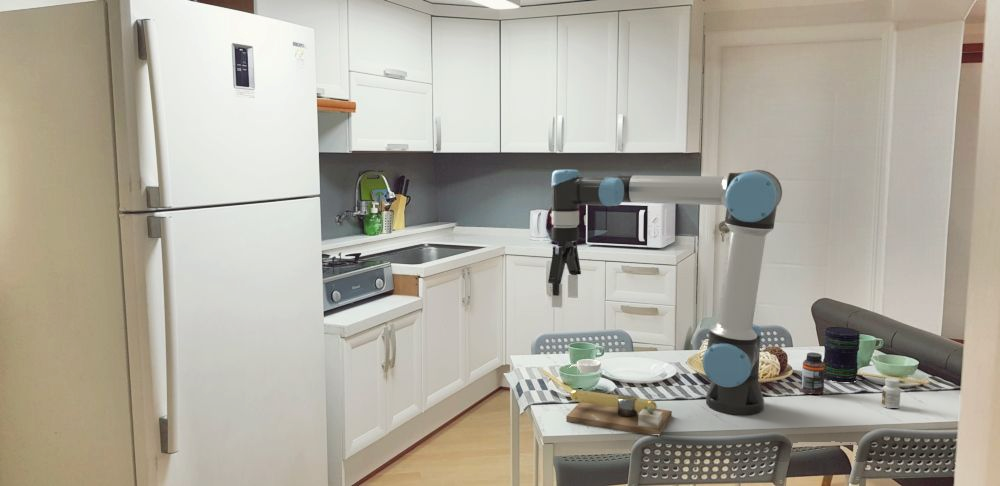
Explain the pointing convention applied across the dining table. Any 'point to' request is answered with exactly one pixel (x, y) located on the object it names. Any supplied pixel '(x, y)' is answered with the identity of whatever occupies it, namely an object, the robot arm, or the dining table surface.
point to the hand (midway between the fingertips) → (565, 302)
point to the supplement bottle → (813, 374)
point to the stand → (620, 418)
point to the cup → (584, 363)
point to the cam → (614, 401)
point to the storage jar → (841, 354)
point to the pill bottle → (891, 393)
